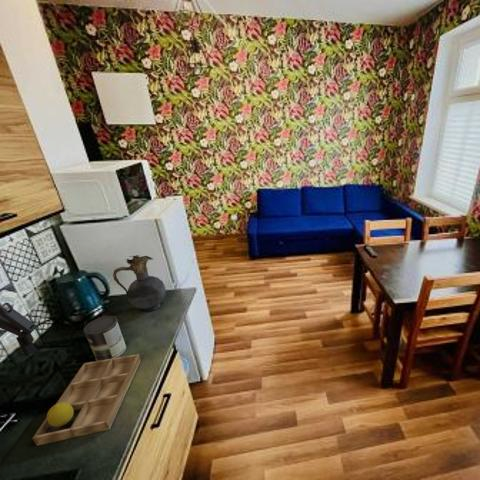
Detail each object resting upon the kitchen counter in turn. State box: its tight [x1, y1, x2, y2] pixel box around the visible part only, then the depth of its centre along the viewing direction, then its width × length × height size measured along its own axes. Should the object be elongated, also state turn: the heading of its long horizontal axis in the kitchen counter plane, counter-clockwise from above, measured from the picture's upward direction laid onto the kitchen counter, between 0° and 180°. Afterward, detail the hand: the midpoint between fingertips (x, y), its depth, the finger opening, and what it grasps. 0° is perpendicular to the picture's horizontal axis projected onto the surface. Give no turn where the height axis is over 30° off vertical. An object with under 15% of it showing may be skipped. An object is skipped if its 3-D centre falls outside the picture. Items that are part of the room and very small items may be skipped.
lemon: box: [46, 402, 74, 427], centre depth 79 cm, size 6×6×8 cm
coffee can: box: [83, 315, 127, 361], centre depth 105 cm, size 10×10×14 cm
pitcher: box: [112, 254, 167, 313], centre depth 128 cm, size 11×19×30 cm, turn 111°
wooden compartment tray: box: [31, 353, 141, 447], centre depth 89 cm, size 18×27×3 cm
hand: (1, 357), depth 74 cm, fingers open, 13 cm apart
